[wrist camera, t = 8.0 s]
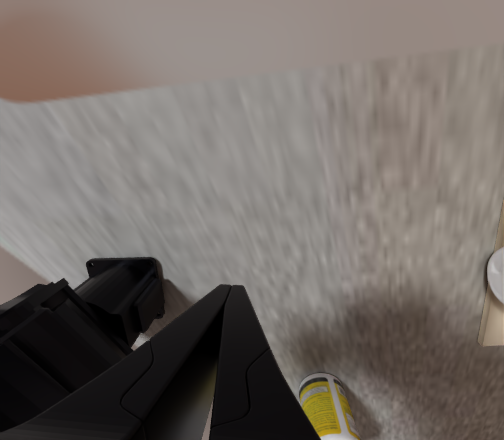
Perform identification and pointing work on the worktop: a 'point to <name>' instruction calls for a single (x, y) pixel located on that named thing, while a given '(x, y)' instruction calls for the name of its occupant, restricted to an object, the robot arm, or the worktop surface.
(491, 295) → the birch board
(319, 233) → the worktop surface
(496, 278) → the supplement bottle
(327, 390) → the supplement bottle
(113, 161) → the worktop surface
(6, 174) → the worktop surface
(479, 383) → the worktop surface
